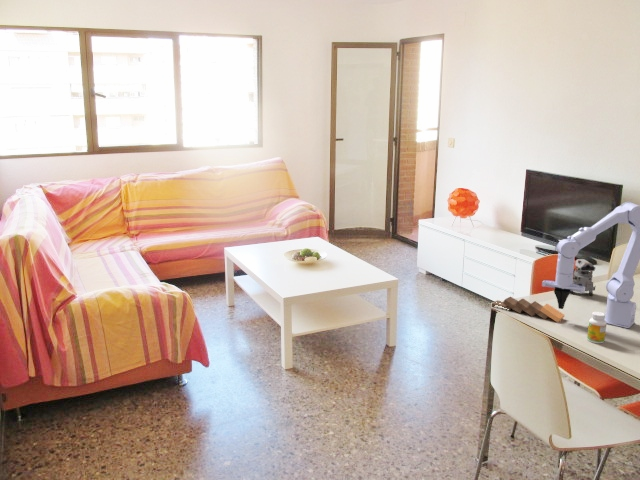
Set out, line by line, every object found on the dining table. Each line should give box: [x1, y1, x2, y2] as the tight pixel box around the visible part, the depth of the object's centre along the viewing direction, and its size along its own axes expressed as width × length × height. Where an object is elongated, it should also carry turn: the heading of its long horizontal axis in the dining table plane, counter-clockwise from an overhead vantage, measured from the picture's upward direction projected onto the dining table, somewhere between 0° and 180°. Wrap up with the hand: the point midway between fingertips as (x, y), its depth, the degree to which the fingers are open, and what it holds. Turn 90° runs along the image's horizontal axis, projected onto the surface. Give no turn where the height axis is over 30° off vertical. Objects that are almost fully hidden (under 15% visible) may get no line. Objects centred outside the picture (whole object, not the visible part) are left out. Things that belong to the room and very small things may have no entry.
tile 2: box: [528, 301, 550, 321], centre depth 226 cm, size 2×5×8 cm
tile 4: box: [503, 296, 524, 314], centre depth 233 cm, size 2×5×8 cm
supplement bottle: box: [586, 311, 607, 344], centre depth 203 cm, size 5×5×10 cm
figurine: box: [570, 258, 596, 297], centre depth 249 cm, size 9×12×15 cm
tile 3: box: [516, 298, 537, 317], centre depth 230 cm, size 2×5×8 cm
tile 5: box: [491, 299, 513, 311], centre depth 236 cm, size 2×5×8 cm
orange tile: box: [540, 303, 566, 323], centre depth 224 cm, size 2×5×8 cm
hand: (561, 308), depth 221 cm, fingers closed
